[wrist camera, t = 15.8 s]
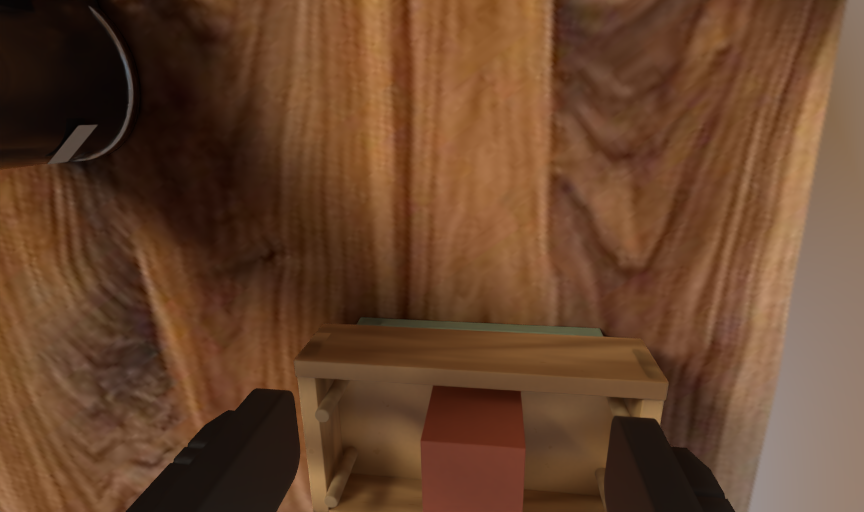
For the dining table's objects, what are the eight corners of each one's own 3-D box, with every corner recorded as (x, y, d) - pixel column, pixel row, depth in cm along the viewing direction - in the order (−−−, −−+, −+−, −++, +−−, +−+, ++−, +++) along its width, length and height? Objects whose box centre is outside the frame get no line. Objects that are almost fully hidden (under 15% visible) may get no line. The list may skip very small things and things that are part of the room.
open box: (323, 322, 28) (286, 368, 23) (641, 337, 26) (676, 392, 21) (337, 469, 31) (307, 537, 26) (619, 495, 29) (645, 574, 24)
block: (433, 382, 27) (420, 440, 22) (520, 387, 26) (526, 448, 21) (435, 452, 28) (422, 521, 24) (517, 459, 28) (521, 531, 23)
